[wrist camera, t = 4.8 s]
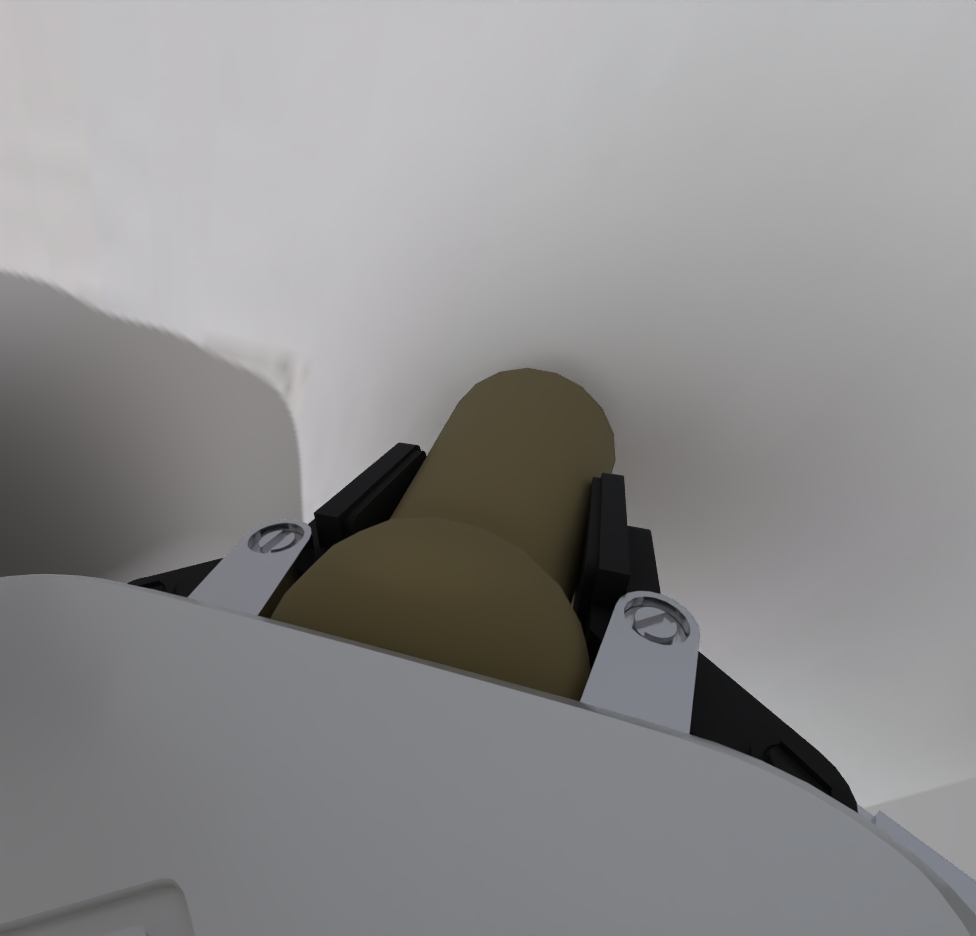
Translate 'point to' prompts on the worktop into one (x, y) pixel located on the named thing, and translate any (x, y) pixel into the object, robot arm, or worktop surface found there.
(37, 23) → the worktop surface
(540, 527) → the olive pepper mill
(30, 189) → the worktop surface
